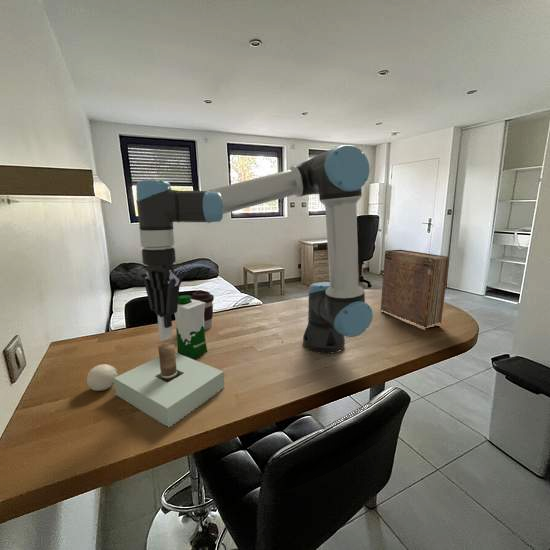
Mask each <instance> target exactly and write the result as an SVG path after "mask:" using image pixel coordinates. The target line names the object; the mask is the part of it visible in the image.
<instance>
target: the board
mask: <svg viewBox="0 0 550 550" xmlns="http://www.w3.org/2000/svg"><path fill="white" fill-rule="evenodd" d="M175 355H176V368H177V378H175V379H173V380H172V381H170V382H168V383H167V382H165V381H163V380H161V370H160V359H159V356H158V357H156V358H153V359H150V360H149V361H146V362H145V363H143V364H141V365H138V366H137V367H133V368H132V369H130V370H128V371H125V372H124V373H122V374H119V375H118V376H117V377H115V378H114V383H113V384H114V388H115V389H114V390H115V395H116V396H117V397H119V398H121V399H122V400H124V401H125V402H127V403H128V404H130V405H132V406H133V407H135V408H136V409H138V410H140V411H141V412H142V413H145V414H146V415H147V416H150V417H151V418H152V419H154V420H156V421H157V420H158V421H157V422H158V423H161V424H162V425H164V426H165V425H166V426H165V427H167V426H168V427H167V428H169V427H170V426H171V427H172V426H174V425H175V424H177V423H178V422H180V421H181V420H182V419H183V418H185V417H186V416H188V415H190V413H192V412H193V411H194V410H196V409H197V408H198V406H199V405H200V406H201V405H203V404H204V403H206V402H207V401H208V400H210V399H211V398H212V397H214V396H216V395H217V394H218V393H219V392H221V391H222V390H223V389H225V378H224V377H225V376H224V375H225V373H224V371H223V370H221V369H218V368H216V367H213V366H211V365H208V364H205V363H203V362H201V361H199V360H195V359H191V358H188V357H186V356H183V355H181V354H178V352H176V351H175ZM221 389H222V390H221ZM220 390H221V391H220ZM217 392H218V393H217ZM213 395H214V396H213ZM209 398H210V399H209ZM202 403H203V404H202ZM200 406H199V407H200ZM195 408H196V409H195ZM191 411H192V412H191ZM187 414H188V415H187ZM184 416H185V417H184ZM180 419H181V420H180ZM176 422H177V423H176ZM173 424H174V425H173ZM171 427H170V428H171Z"/></svg>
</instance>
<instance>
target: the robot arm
mask: <svg viewBox="0 0 550 550" xmlns="http://www.w3.org/2000/svg"><path fill="white" fill-rule="evenodd" d="M370 170H371V169H370V163H369V160H368V158H367V155H366V154H365V153H364V152H363V151H362V149H360V148H359V147H357V146H355V145H352V144H344V145H339V146H334V147H332V148H331V149H329V150H327V151H324V152H323V153H320V154H317V155H314V156H313V157H311V158H310V159H307V160H305V161H303V162H301V163H298V164H294V165H291V166H290V167H289V169H288V170H284V171H280V172H276V173H272V174H267V175H264V176H261V177H256V178H252V179H249V180H244V181H240V182H235V183H231V184H227V185H225V186H219V187H217V188H212V189H207V190H176V189H172V187H171V184H170V182H169V181H165V180H156V179H142V180H139V181H138V182H137V183H136V184H135V185H136V186H135V187H136V188H135V189H136V190H135V192H136V201H135V202H136V207H137V208H136V209H137V217H138V224H139V225H138V226H139V236H140V237H139V238H140V240H139V241H140V246H141V247H142V248H143V249H142V250H141V256H142V258H141V259H142V264H143V265H145V266H146V270H147V271H146V272H143V273H141V278H142V280H143V283H144V286H145V287H144V288H145V291H146V295H147V299H148V303H149V308H150V311H152V312H153V311H154V313H155V314H156V316H157V317H156V318H157V325H158V337H159V340H160V341H163V342H164V341H166V340H167V339H168V340H169V339H170V338H173V330H172V326H173V323H172V322H173V321H172V320H173V319H172V315H173V314H174V313H176V312H177V307H178V297H179V296H180V295H179V293H180V287H181V284H182V281H183V280H182V277H180V276H179V277H177V276H176V275H175V270H174V267H173V265H174V264H175V263H176V261H177V260H176V250H175V249H176V248H174V247H173V246H174V245H175V235H174V223H208V224H210V223H220V222H221V221H223V220H222V219H223V217H224V215H225V214H229V213H232V212H236V211H239V210H243V209H248V208H251V207H254V206H258V205H261V204H265V203H270V202H273V201H277V200H280V199H285V198H288V197H291V196H295V197H296V198H300V197H304V196H308V195H309V196H310V195H318V196H319V202H320V203H321V204H322V205H323V206H324V208H325V224H326V225H325V226H326V240H327V256H328V258H327V259H328V275H329V281H323V282H321V281H320V282H314V283H312V284H310V285H309V286H308V287H309V289H308V293H307V294H308V313H307V314H308V315H307V319H308V320H307V325H306V328H305V331H304V332H303V333H304V334H303V337H302V344H303V346H304V347H305V348H306V349H307V348H308V351H311V352H314V351H315V353H318V352H320V354H332V353H331V352H335V353H338V352H337V351H339V350H341V349H342V350H343V349H344V348H345V347H344V346H345V344H346V340H345V337H347V338H353V337H358V336H360V335H362V334H364V333H365V332H366V330H367V329H368V328H369V327H370V326H371V324H372V321H373V317H374V315H373V314H374V313H373V309H372V307H371V306H370V305H369V304H368V303H367V302H365V301H366V299H365V297H366V295H365V289H364V288H363V287H362V286H361V285H360V278H359V277H360V276H359V275H360V273H359V272H360V271H359V245H358V216H357V203H358V201H360V199H361V198H362V196H363V194H362V193H363V192H362V190H363V189H362V188H363V186H364V185H365V184H366V182H367V181H368V179H369V176H370ZM174 315H175V314H174ZM342 350H341V351H342ZM339 352H340V351H339Z"/></svg>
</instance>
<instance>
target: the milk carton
mask: <svg viewBox="0 0 550 550" xmlns="http://www.w3.org/2000/svg"><path fill="white" fill-rule="evenodd" d="M191 296H192V295H189V294H182V295H179V297H178V307H177V312H176V313H174V317H175V318H174V319H175V328H176V329H175V331H176V341H177V345H176V346H177V353H178V354H181V355H183V356H186V357H188V358H191V359H193V360H195V359H196V358H198V357H199V356H202V355H203V354H206V353H207V352H208V347H207V343H206V332H205V331H206V330H205V327H204V310H205V304H206V303H205V302H201V301H197V300H193V299H191Z"/></svg>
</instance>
